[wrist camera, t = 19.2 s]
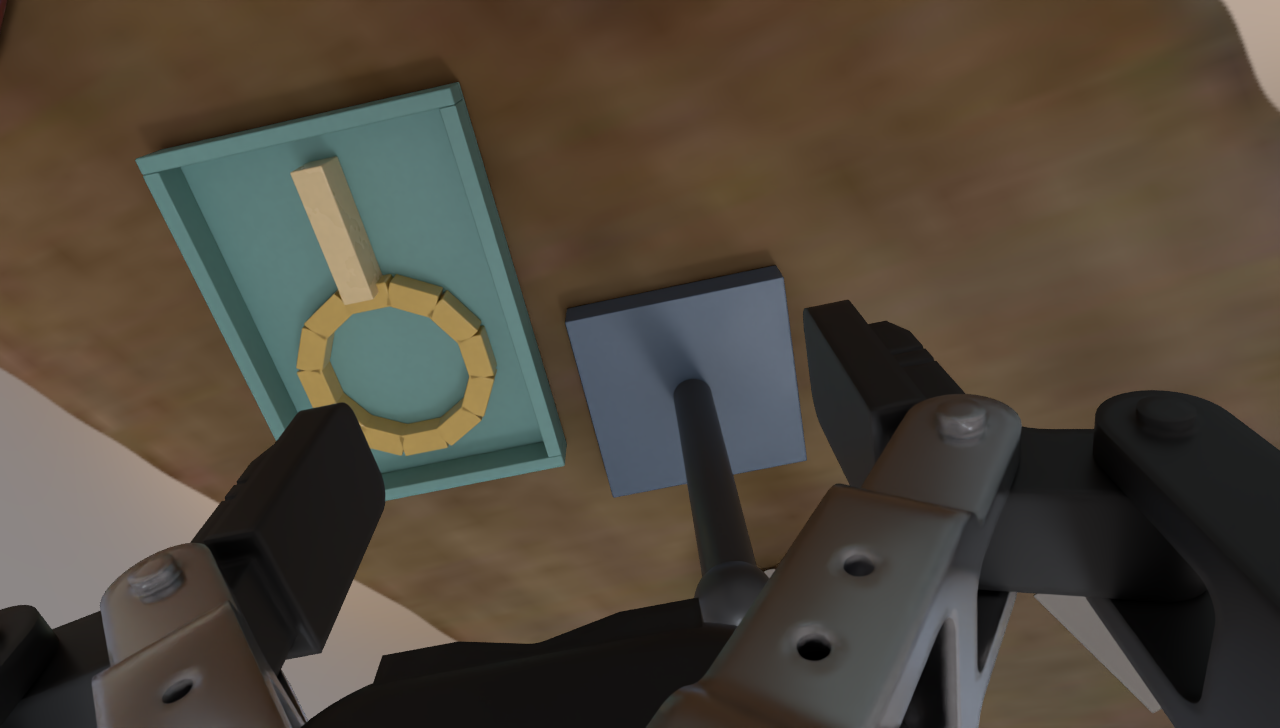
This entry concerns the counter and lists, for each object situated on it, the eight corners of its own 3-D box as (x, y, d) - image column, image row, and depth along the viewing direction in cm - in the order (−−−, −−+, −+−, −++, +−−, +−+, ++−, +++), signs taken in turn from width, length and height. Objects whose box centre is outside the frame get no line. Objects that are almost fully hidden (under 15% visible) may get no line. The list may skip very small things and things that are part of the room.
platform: (1152, 713, 60) (1212, 791, 54) (1033, 596, 54) (1086, 670, 48) (1297, 631, 56) (1378, 706, 50) (1187, 496, 50) (1264, 563, 44)
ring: (223, 181, 38) (199, 192, 36) (423, 136, 38) (411, 145, 35) (348, 456, 46) (335, 478, 44) (516, 422, 45) (511, 444, 43)
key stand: (566, 308, 42) (536, 539, 25) (776, 264, 42) (902, 469, 24) (612, 479, 48) (615, 771, 30) (799, 443, 47) (917, 719, 29)
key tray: (160, 149, 38) (133, 159, 36) (459, 81, 37) (449, 87, 35) (326, 491, 47) (313, 515, 45) (567, 444, 46) (565, 466, 44)
